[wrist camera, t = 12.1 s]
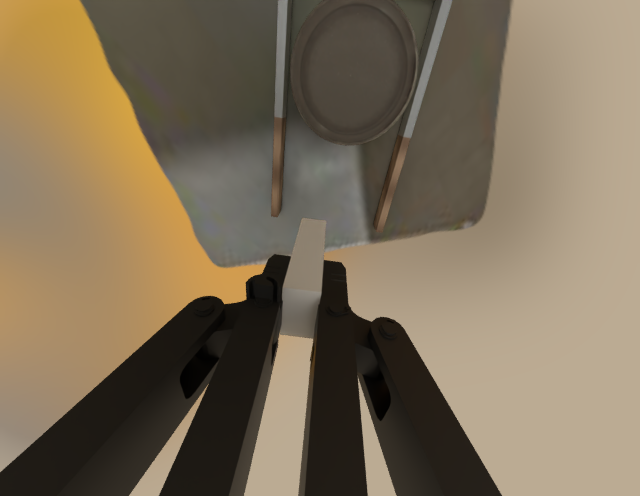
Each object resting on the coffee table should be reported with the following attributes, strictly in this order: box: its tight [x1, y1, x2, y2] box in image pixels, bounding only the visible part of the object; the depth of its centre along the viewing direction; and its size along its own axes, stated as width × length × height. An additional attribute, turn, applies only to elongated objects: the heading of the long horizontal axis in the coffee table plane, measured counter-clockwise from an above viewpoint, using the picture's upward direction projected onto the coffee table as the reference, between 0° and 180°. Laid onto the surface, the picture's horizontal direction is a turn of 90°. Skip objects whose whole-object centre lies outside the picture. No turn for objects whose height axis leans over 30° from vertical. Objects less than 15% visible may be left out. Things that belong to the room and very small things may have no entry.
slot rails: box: [271, 117, 411, 232], centre depth 36 cm, size 14×18×3 cm
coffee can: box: [290, 0, 418, 145], centre depth 25 cm, size 10×10×14 cm
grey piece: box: [274, 0, 452, 138], centre depth 28 cm, size 15×18×3 cm
